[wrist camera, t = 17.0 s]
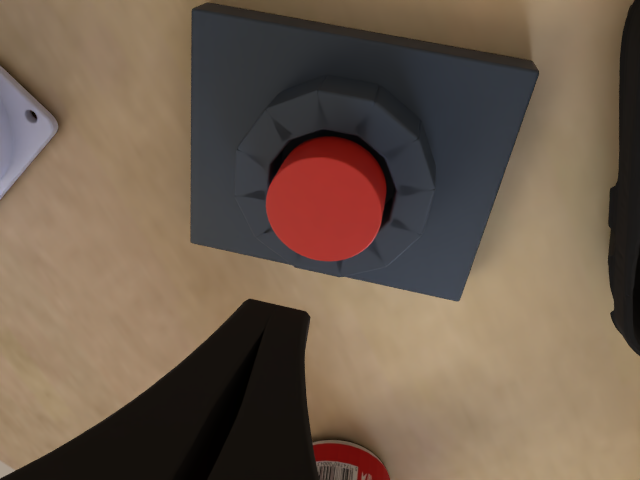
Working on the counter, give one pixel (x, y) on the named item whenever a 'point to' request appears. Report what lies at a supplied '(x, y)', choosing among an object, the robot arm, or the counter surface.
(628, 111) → the egg carton
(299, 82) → the switch block
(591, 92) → the counter surface
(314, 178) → the power button
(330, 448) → the beverage can
